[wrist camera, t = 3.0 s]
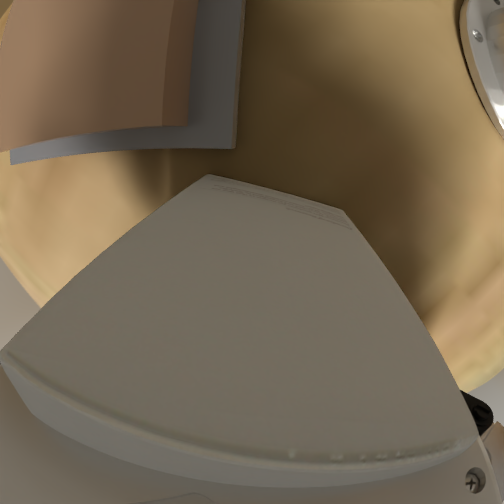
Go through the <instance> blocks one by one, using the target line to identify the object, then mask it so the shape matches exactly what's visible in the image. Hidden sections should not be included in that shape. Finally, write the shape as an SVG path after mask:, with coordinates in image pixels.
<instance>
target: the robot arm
mask: <svg viewBox="0 0 504 504" xmlns="http://www.w3.org/2000/svg"><path fill="white" fill-rule="evenodd" d="M459 23H460V34H461V40H462V45H463V49H464V54H465V57H466V61H467V64H468V67H469V71H470V74H471V76H472V79H473V81H474V84H475V87H476V89H477V92H478V94H479V96H480V98H481V101H482V103H483V105H484V107H485V109H486V111H487V113H488V115H489V117H490V119H491V120H492V122H493V124H494V126H495V128H496V129H497V130H498V132H499V133H500V135H501V136H502V138H503V139H504V0H465V1H464V2H463V5H462V7H461V10H460V21H459ZM460 392H461V394H462V396H463V398H464V400H465V402H466V404H467V406H468V408H469V410H470V412H471V414H472V417H473V419H474V421H475V424H476V426H477V429H478V432H479V436H478V438H477V440H476V441H475V443H473V444H472V445H471V446H470V447H469V448H468V449H466V450H465V451H464V452H463V453H462V454H460V455H459V456H457V457H454V458H452V459H450V460H447V461H445V462H443V463H440V464H438V465H435V466H432V467H429V468H427V469H424V470H420V471H417V472H414V473H410V474H406V475H402V476H397V477H393V478H388V479H383V480H378V481H372V482H366V483H359V484H351V485H342V486H331V487H311V488H277V487H255V486H242V485H232V484H224V483H217V482H210V481H204V480H198V479H193V478H187V477H182V476H178V475H173V474H169V473H165V472H161V471H157V470H153V469H150V468H146V467H143V466H139V465H136V464H133V463H130V462H127V461H124V460H121V459H118V458H115V457H113V456H110V455H108V454H105V453H103V452H100V451H98V450H95V449H93V448H91V447H88V446H86V445H84V444H82V443H80V442H77V441H75V440H73V439H71V438H69V437H67V436H65V435H63V434H62V433H60V432H58V431H56V430H55V429H53V428H51V427H50V426H48V425H47V424H45V423H44V422H42V421H41V420H40V419H38V418H37V417H36V416H34V415H33V414H32V413H31V412H30V410H29V409H28V407H27V406H26V405H25V403H24V402H23V400H22V398H21V397H20V395H19V394H18V392H17V391H16V389H15V388H14V386H13V384H12V383H11V381H10V380H9V378H8V376H7V375H6V373H5V371H4V369H3V367H2V365H1V363H0V504H502V502H503V500H504V427H503V426H502V425H501V424H500V423H499V422H496V423H495V424H494V423H493V412H492V410H491V408H490V407H489V406H488V405H487V404H486V403H484V402H483V401H481V400H479V399H477V398H475V397H473V396H471V395H469V394H467V393H465V392H463V391H461V390H460Z"/></svg>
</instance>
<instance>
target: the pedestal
mask: <svg viewBox="0 0 504 504" xmlns="http://www.w3.org/2000/svg"><path fill="white" fill-rule="evenodd" d="M245 9H246V0H14V1H13V4H12V7H11V10H10V13H9V16H8V19H7V23H6V26H5V30H4V34H3V38H2V42H1V46H0V152H4V151H8V150H10V161H11V165H14V164H19V163H25V162H30V161H36V160H42V159H48V158H54V157H61V156H69V155H77V154H86V153H96V152H107V151H120V150H136V149H162V148H214V149H233V148H236V137H237V120H238V103H239V87H240V73H241V59H242V45H243V33H244V21H245Z"/></svg>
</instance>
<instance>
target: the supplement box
mask: <svg viewBox="0 0 504 504" xmlns="http://www.w3.org/2000/svg"><path fill="white" fill-rule="evenodd" d="M0 363H1V365H2V367H3V369H4V371H5V373H6V375H7V376H8V378H9V380H10V381H11V383H12V384H13V386H14V388H15V389H16V391H17V392H18V394H19V395H20V397H21V398H22V400H23V402H24V403H25V405H26V406H27V407H28V409H29V410H30V412H31V413H32V414H33V415H34V416H36V417H37V418H38V419H40V420H41V421H42V422H44V423H45V424H47V425H48V426H50V427H51V428H53V429H55V430H56V431H58V432H60V433H62V434H63V435H65V436H67V437H69V438H71V439H73V440H75V441H77V442H80V443H82V444H84V445H86V446H88V447H91V448H93V449H95V450H98V451H100V452H103V453H105V454H108V455H110V456H113V457H115V458H118V459H121V460H124V461H127V462H130V463H133V464H136V465H139V466H143V467H146V468H150V469H153V470H157V471H161V472H165V473H169V474H173V475H178V476H182V477H187V478H193V479H198V480H204V481H210V482H217V483H224V484H232V485H242V486H255V487H277V488H311V487H331V486H342V485H351V484H359V483H366V482H372V481H378V480H383V479H388V478H393V477H397V476H402V475H406V474H410V473H414V472H417V471H420V470H424V469H427V468H429V467H432V466H435V465H438V464H440V463H443V462H445V461H447V460H450V459H452V458H454V457H457V456H459V455H460V454H462V453H463V452H464V451H465V450H466V449H468V448H469V447H470V446H471V445H472V444H473V443H475V441H476V440H477V438H478V436H479V432H478V429H477V426H476V424H475V421H474V419H473V417H472V414H471V412H470V410H469V408H468V406H467V404H466V402H465V400H464V398H463V396H462V394H461V392H460V390H459V388H458V386H457V384H456V382H455V380H454V378H453V376H452V374H451V372H450V370H449V368H448V366H447V364H446V363H445V361H444V359H443V357H442V355H441V353H440V351H439V349H438V348H437V346H436V344H435V342H434V341H433V339H432V337H431V336H430V334H429V332H428V331H427V329H426V327H425V326H424V324H423V323H422V321H421V319H420V318H419V316H418V315H417V313H416V311H415V310H414V308H413V307H412V305H411V304H410V302H409V301H408V299H407V297H406V296H405V294H404V293H403V291H402V290H401V288H400V287H399V285H398V284H397V282H396V281H395V279H394V278H393V276H392V275H391V273H390V272H389V271H388V269H387V268H386V267H385V265H384V264H383V262H382V261H381V259H380V258H379V257H378V255H377V254H376V253H375V251H374V250H373V249H372V247H371V246H370V245H369V243H368V242H367V241H366V239H365V238H364V237H363V235H362V234H361V233H360V231H359V230H358V229H357V228H356V226H355V225H354V224H353V222H352V221H351V220H350V219H349V217H348V216H347V215H346V214H345V212H344V211H343V210H341V209H338V208H335V207H332V206H328V205H325V204H322V203H319V202H315V201H312V200H308V199H305V198H301V197H298V196H295V195H291V194H287V193H283V192H280V191H276V190H273V189H269V188H265V187H261V186H257V185H254V184H250V183H246V182H242V181H238V180H234V179H229V178H225V177H221V176H216V175H212V174H207V175H205V176H203V177H202V178H200V179H199V180H197V181H196V182H194V183H193V184H191V185H190V186H189V187H187V188H186V189H184V190H183V191H181V192H180V193H179V194H177V195H176V196H174V197H173V198H172V199H170V200H169V201H168V202H166V203H165V204H163V205H162V206H161V207H159V208H158V209H157V210H155V211H154V212H153V213H151V214H150V215H149V216H147V217H146V218H145V219H143V220H142V221H141V222H139V223H138V224H137V225H135V226H134V227H133V228H132V229H130V230H129V231H128V232H127V233H125V234H124V235H123V236H122V237H121V238H119V239H118V240H117V241H116V242H114V243H113V244H112V245H111V246H110V247H108V248H107V249H106V250H105V251H103V252H102V253H101V254H100V255H99V256H97V257H96V258H95V259H94V260H93V261H92V262H91V263H90V264H89V265H87V266H86V267H85V268H84V269H83V270H81V271H80V272H79V273H78V274H77V275H76V276H75V277H74V278H72V279H71V280H70V281H69V282H68V283H67V284H66V285H65V286H64V287H63V288H62V289H61V290H60V291H59V292H58V293H56V294H55V295H54V296H53V297H52V298H51V299H50V300H49V301H48V302H47V303H46V304H45V305H44V306H43V307H42V308H41V310H40V311H39V312H38V313H37V314H36V315H35V316H34V317H33V318H32V319H31V320H30V321H29V322H28V323H26V324H25V325H24V326H23V328H22V329H21V330H20V331H19V332H18V333H17V334H16V335H15V336H14V337H13V338H12V339H11V340H10V341H9V342H8V344H6V345H5V346H4V347H3V349H2V350H1V351H0Z"/></svg>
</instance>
